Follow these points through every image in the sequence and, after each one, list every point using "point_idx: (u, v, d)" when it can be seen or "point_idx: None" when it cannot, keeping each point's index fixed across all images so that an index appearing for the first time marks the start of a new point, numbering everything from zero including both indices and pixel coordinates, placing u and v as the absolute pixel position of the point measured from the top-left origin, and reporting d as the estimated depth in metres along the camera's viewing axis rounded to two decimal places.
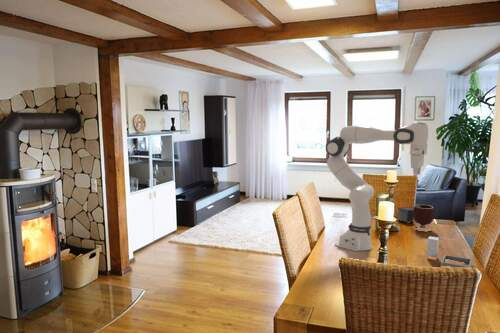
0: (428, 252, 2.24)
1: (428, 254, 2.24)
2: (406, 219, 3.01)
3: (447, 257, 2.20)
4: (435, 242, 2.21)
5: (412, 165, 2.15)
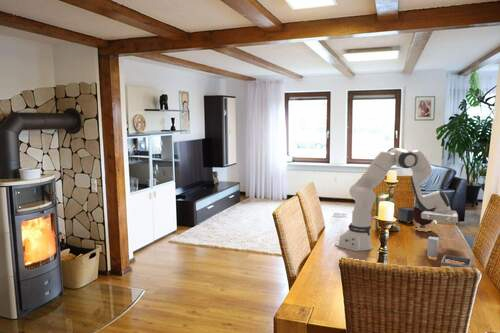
0: (428, 252, 2.24)
1: (428, 254, 2.24)
2: (406, 219, 3.01)
3: (447, 257, 2.20)
4: (435, 242, 2.21)
5: (457, 217, 2.32)
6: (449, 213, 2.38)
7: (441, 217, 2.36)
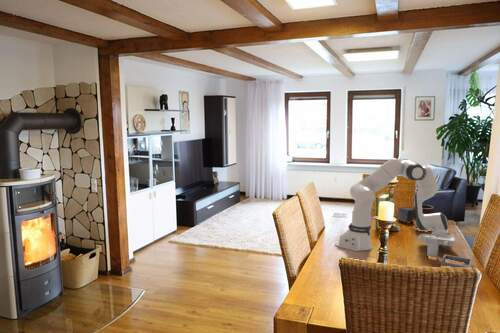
0: (428, 252, 2.24)
1: (428, 254, 2.24)
2: (406, 219, 3.01)
3: (447, 257, 2.20)
4: (435, 242, 2.21)
5: None
6: (446, 236, 2.36)
7: None
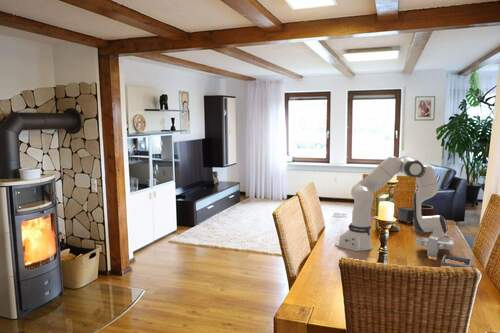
0: (428, 252, 2.24)
1: (428, 254, 2.24)
2: (406, 219, 3.01)
3: (447, 257, 2.20)
4: (435, 242, 2.21)
5: (453, 245, 2.23)
6: (445, 240, 2.29)
7: None
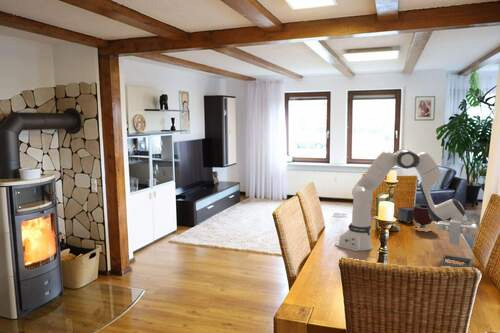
0: (450, 236, 2.11)
1: (450, 238, 2.12)
2: (406, 219, 3.01)
3: (447, 257, 2.20)
4: (458, 225, 2.09)
5: None
6: (467, 223, 2.17)
7: None
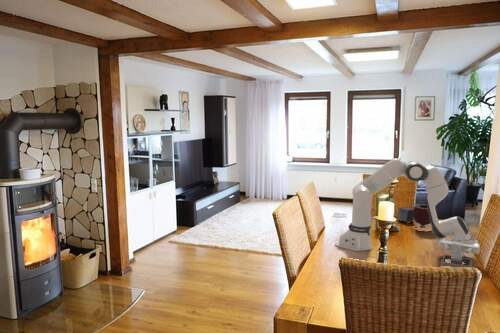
0: (452, 258, 2.11)
1: (452, 260, 2.11)
2: (406, 219, 3.01)
3: (447, 257, 2.20)
4: (460, 248, 2.08)
5: (479, 248, 2.10)
6: (469, 243, 2.16)
7: None
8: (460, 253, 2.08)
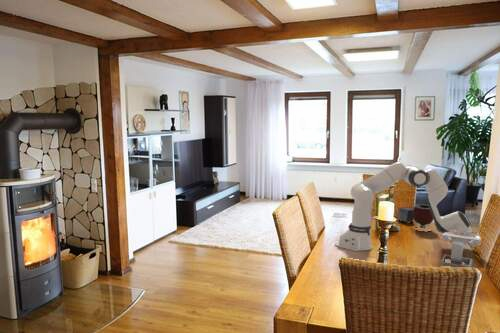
0: (452, 258, 2.11)
1: (452, 260, 2.11)
2: (406, 219, 3.01)
3: (447, 257, 2.20)
4: (460, 248, 2.08)
5: None
6: (471, 235, 2.29)
7: (463, 240, 2.27)
8: (460, 253, 2.08)
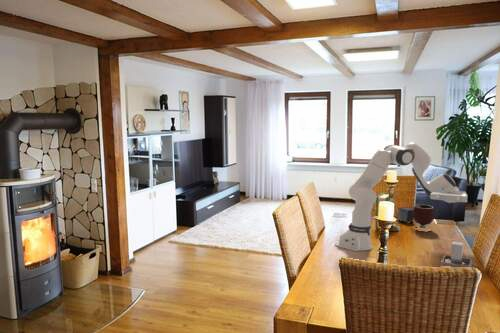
0: (452, 258, 2.11)
1: (452, 260, 2.11)
2: (406, 219, 3.01)
3: (447, 257, 2.20)
4: (460, 248, 2.08)
5: None
6: (458, 193, 2.39)
7: (450, 197, 2.37)
8: (460, 253, 2.08)
